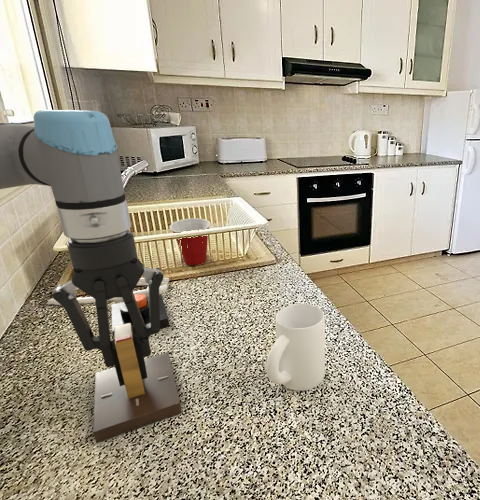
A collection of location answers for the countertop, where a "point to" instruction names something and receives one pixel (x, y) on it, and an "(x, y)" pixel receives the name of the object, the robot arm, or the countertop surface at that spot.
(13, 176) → the robot arm
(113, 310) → the black base
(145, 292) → the door handle
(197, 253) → the plastic cup
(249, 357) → the countertop surface
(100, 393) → the plate
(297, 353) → the mug
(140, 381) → the lock turn
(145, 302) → the bell button
